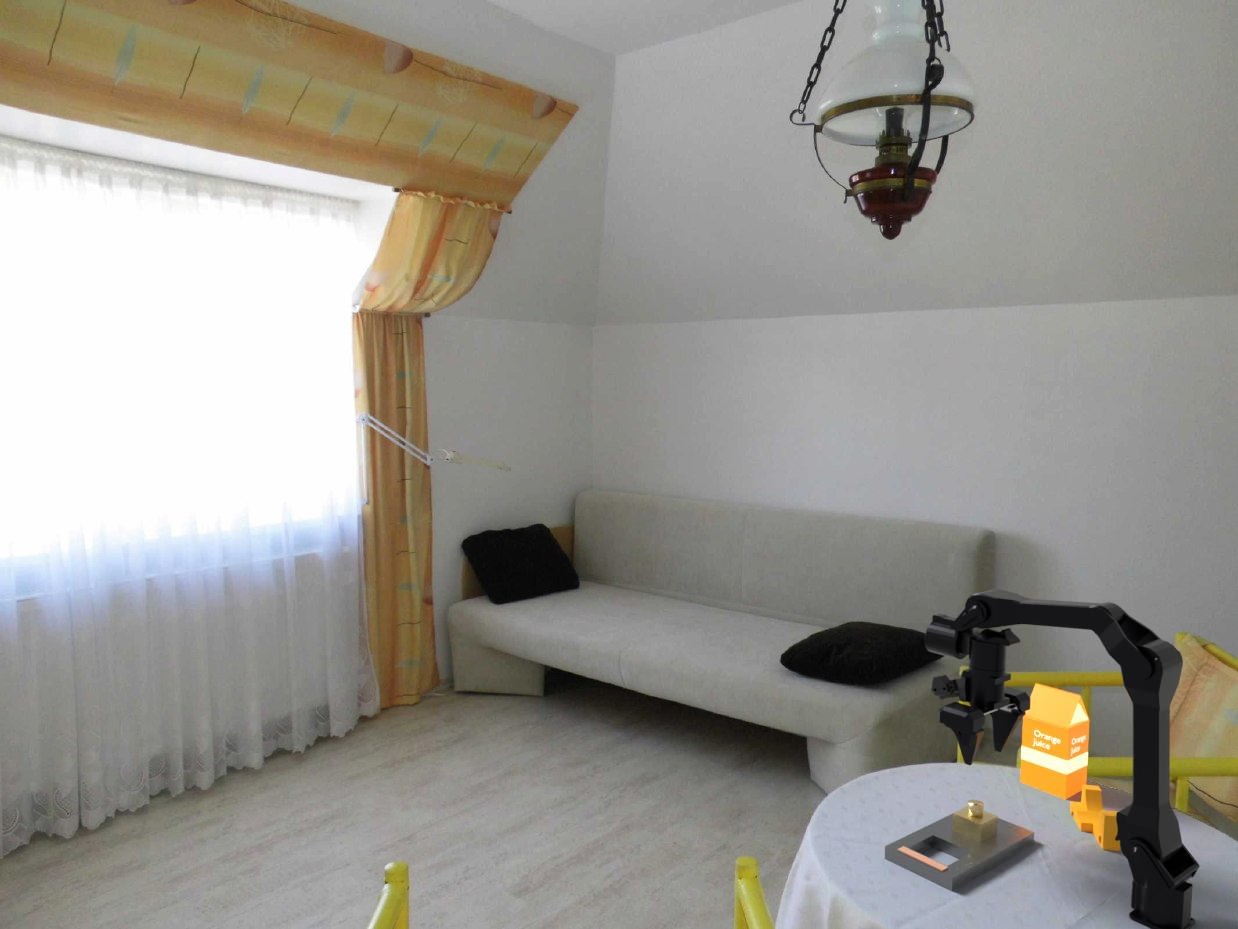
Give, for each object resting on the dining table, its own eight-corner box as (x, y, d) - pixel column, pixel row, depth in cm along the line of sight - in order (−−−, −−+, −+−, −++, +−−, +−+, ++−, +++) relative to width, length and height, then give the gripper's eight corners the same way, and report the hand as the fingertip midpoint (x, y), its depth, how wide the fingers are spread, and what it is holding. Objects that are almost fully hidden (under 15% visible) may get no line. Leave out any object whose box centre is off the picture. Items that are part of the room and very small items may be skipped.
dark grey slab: (1033, 844, 150) (1034, 831, 150) (951, 891, 136) (952, 877, 135) (967, 817, 160) (968, 804, 160) (884, 858, 145) (885, 845, 145)
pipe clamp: (1069, 819, 160) (1071, 783, 159) (1096, 821, 159) (1098, 785, 158) (1090, 852, 148) (1092, 814, 148) (1119, 855, 147) (1121, 817, 147)
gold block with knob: (996, 833, 149) (998, 804, 149) (980, 842, 146) (981, 812, 146) (969, 822, 153) (970, 793, 153) (952, 830, 150) (953, 801, 150)
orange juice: (1064, 806, 164) (1070, 699, 163) (1018, 789, 171) (1023, 686, 170) (1086, 796, 169) (1091, 691, 167) (1040, 779, 176) (1045, 679, 174)
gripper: (973, 646, 162) (969, 731, 163) (911, 664, 150) (908, 755, 151) (1034, 660, 153) (1030, 750, 154) (973, 681, 141) (969, 778, 143)
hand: (983, 757), depth 151 cm, fingers open, 9 cm apart
